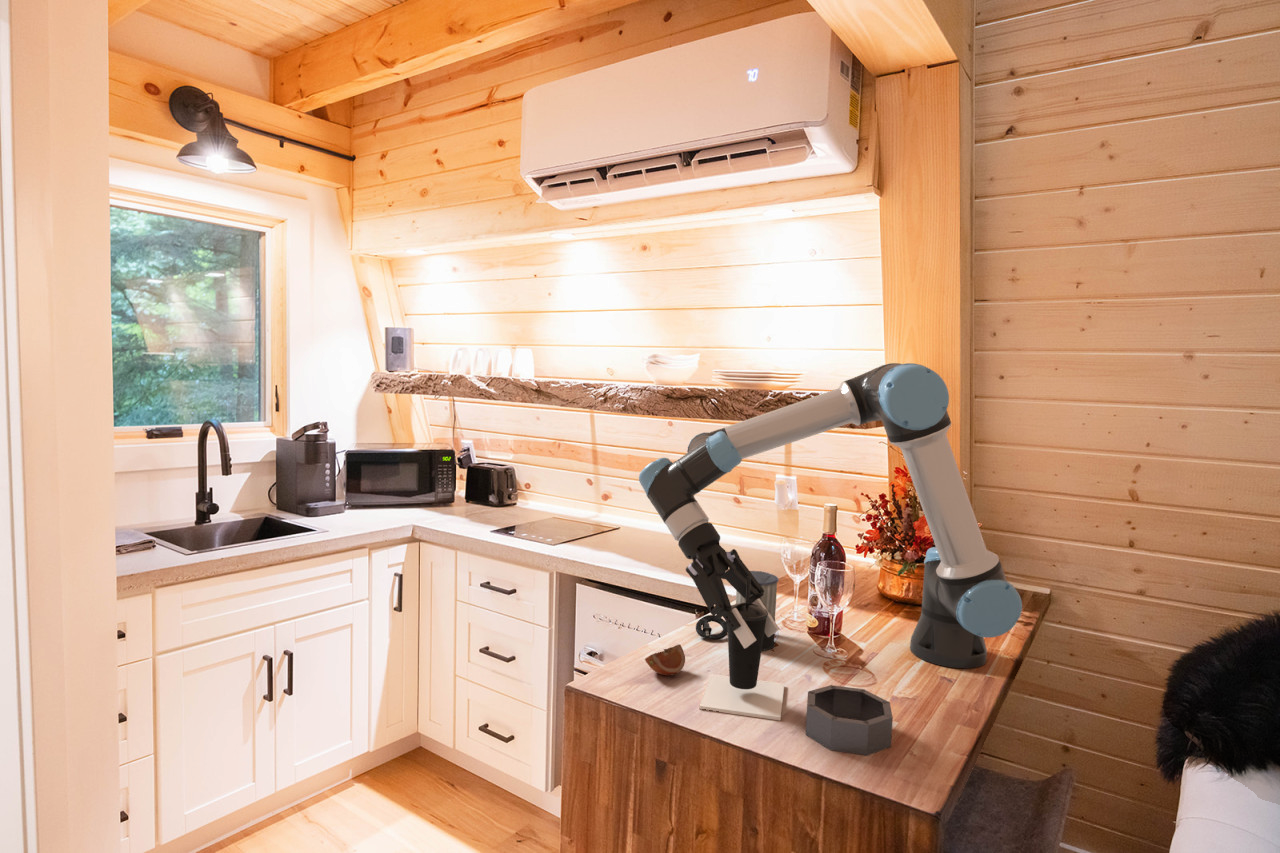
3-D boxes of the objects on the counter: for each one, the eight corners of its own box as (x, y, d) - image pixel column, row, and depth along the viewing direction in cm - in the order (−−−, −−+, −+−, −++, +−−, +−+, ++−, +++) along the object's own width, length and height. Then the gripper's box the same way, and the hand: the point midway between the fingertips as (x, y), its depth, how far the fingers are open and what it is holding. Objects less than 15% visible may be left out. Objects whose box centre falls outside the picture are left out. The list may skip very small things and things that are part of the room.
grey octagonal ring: (885, 720, 134) (887, 692, 133) (892, 759, 121) (895, 728, 120) (806, 709, 137) (808, 682, 136) (805, 746, 124) (806, 716, 123)
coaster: (784, 686, 146) (784, 683, 146) (780, 720, 132) (780, 717, 132) (710, 676, 149) (710, 673, 149) (699, 709, 135) (699, 705, 135)
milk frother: (782, 650, 164) (786, 582, 162) (712, 655, 160) (716, 585, 158) (755, 626, 178) (758, 563, 176) (690, 631, 173) (692, 566, 172)
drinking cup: (716, 687, 138) (722, 578, 136) (728, 671, 145) (733, 568, 143) (758, 696, 136) (764, 585, 133) (768, 679, 143) (774, 574, 141)
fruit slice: (660, 685, 145) (661, 659, 144) (636, 673, 150) (637, 648, 149) (691, 673, 150) (692, 648, 150) (666, 662, 155) (667, 638, 155)
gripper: (712, 534, 156) (777, 634, 147) (648, 552, 141) (716, 664, 132) (735, 513, 152) (804, 614, 143) (672, 528, 137) (744, 643, 128)
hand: (762, 638), depth 137 cm, fingers closed on drinking cup, 7 cm apart
